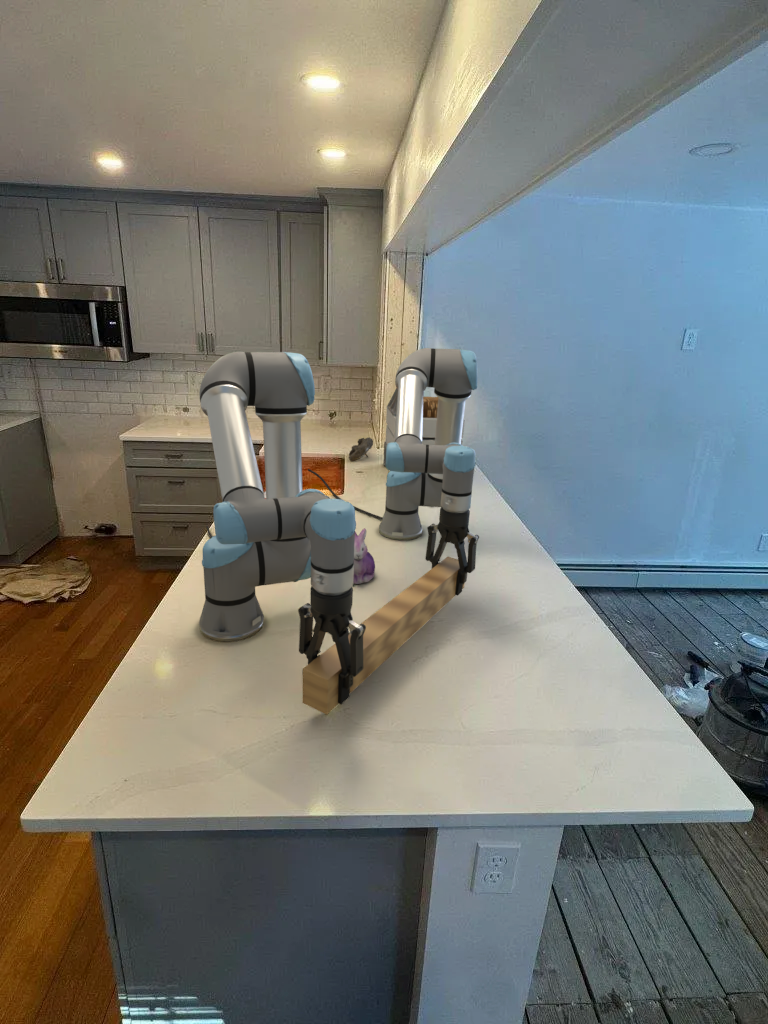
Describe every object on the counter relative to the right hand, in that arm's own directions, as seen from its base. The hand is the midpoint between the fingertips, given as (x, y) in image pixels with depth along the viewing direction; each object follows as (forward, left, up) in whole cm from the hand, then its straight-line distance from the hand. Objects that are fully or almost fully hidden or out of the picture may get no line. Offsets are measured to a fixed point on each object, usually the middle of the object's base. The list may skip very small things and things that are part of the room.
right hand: (447, 589), depth 151 cm
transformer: (-98, +85, -5) cm, 130 cm away
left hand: (+16, -50, 0) cm, 52 cm away
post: (+8, -25, -1) cm, 26 cm away
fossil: (-138, +80, -5) cm, 159 cm away
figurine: (-27, -8, -5) cm, 28 cm away
